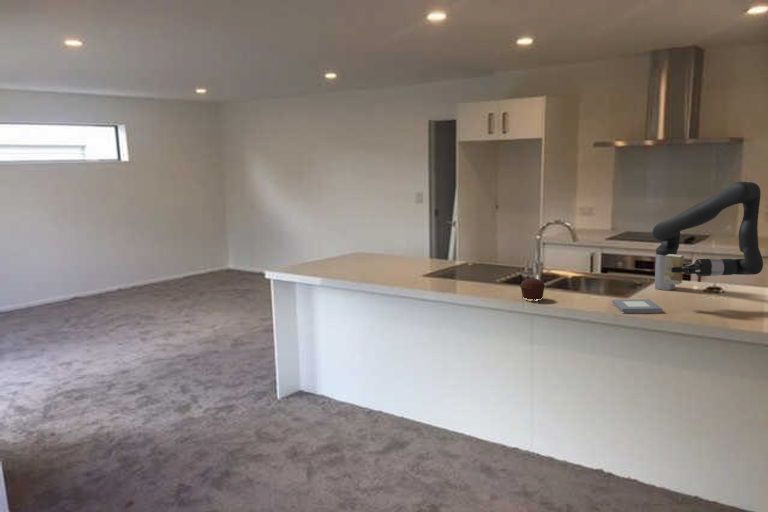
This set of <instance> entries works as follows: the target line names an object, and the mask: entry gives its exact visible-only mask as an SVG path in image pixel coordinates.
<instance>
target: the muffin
mask: <svg viewBox="0 0 768 512" xmlns="http://www.w3.org/2000/svg"><path fill="white" fill-rule="evenodd" d="M519 287H520V291H521V297H522V298H523V297H524V298H527V299H533V300H534V299H535V300H536V299H541V298H542V297H544V291H545V287H546V285H545V283H544V282H543V281H542V280H540V279H538V278H533V277H531V278H526V279H524V280H523V281H521V283H520V285H519ZM542 299H543V298H542Z"/></svg>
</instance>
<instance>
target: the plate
mask: <svg viewBox="0 0 768 512" xmlns="http://www.w3.org/2000/svg"><path fill="white" fill-rule="evenodd" d="M612 303H613V304H614V305H615V306H616V307H617V308H618V309H619V310H620V311H621V312H624V313H623V314H662V313H663V310H662V309H663V308H662V307H660V305H658V304H656V303H655V302H654V301H652V300H651V299H649V298H647V299H645V298H643V299H641V298H638V299H611V304H612ZM613 304H612V305H613ZM614 305H613V306H614ZM615 306H614V307H615ZM616 307H615V308H616ZM617 308H616V309H617ZM618 309H617V310H618ZM619 310H618V311H619ZM620 311H619V312H620ZM621 312H620V313H621Z"/></svg>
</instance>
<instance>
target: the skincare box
mask: <svg viewBox="0 0 768 512" xmlns="http://www.w3.org/2000/svg"><path fill="white" fill-rule="evenodd" d="M684 259H685V255H684V254H683V255H682V254H677V255H674V254H668V255H666V260H665V276H664V283H671V284H675V285H680V284H682V283H683V277H684V276H683V274H684V273H672V272H671V268H672V267H681V268H682V267H683V262H685V261H684Z"/></svg>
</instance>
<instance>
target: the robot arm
mask: <svg viewBox="0 0 768 512" xmlns="http://www.w3.org/2000/svg"><path fill="white" fill-rule="evenodd" d="M760 203H761V187H760V186H759V184H757V183H755V182H752V181H751V182H750V181H737V182H735V183H732V184H731V185H729V186H728V187H727V188H725V189H723V190H722V191H720V192H718V193H717V194H715V195H713V196H710V197H708V198H707V199H705V200H703V201H700V202H699V203H697V204H695V205H692V206H691V207H689V208H688V209H686V210H684V211H681V213H679V214H676V215H675V216H673V217H671V218H669V219H666V220H664V221H661V222H660V221H659V222H658V223H656V225H655V226H654V227H653V229H652V236H653V237H654V238H655V240H657V241H661V243H660V245H659V246H657V247H656V249H655V267H654V268H655V271H654V289H656V288H657V289H656V290H660V289H661V290H662V291H672V290H673V289H674V290H675V289H676V284H671V283H664V276H665V260H666V255H668V254H674V255H678V250H679V247H680V240H681V231H685V230H688V229H692V228H695V227H699V226H701V225H704V224H706V223H708V222H710V221H712V220H714V219H716V217H718V216H719V215H720V213H721V212H723V210H725V209H727V208H729V207H732V206H735V205H739V204H742V206H743V216H742V221H741V223H740V226H739V229H738V247H739V251H740V252H741V253H742V254H743V257H744V258H734V259H733V258H714V257H713V258H697V259H695V260H694V261H695V262H694V263H692V262H688V261H684V262H683V267H682V268H681V267H672V268H671V272H672V273H683V274H684V275H691V274H692V275H693V274H694V275H696V276H697V277H718V276H731V275H732V276H733V275H744V276H745V275H746V276H747V275H748V276H749V275H751V276H752V275H753V276H754V275H758V274H760V273H761V272H762V270H763V269H764V268H763V267H764V262H763V256H762V254H761V251H760V248H759V247H760V246H759V233H758V232H759V231H758V230H759V229H758V228H759V226H758V225H759V223H758V222H759V214H760V213H759V211H760ZM661 290H660V291H661ZM674 290H673V291H674Z"/></svg>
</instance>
